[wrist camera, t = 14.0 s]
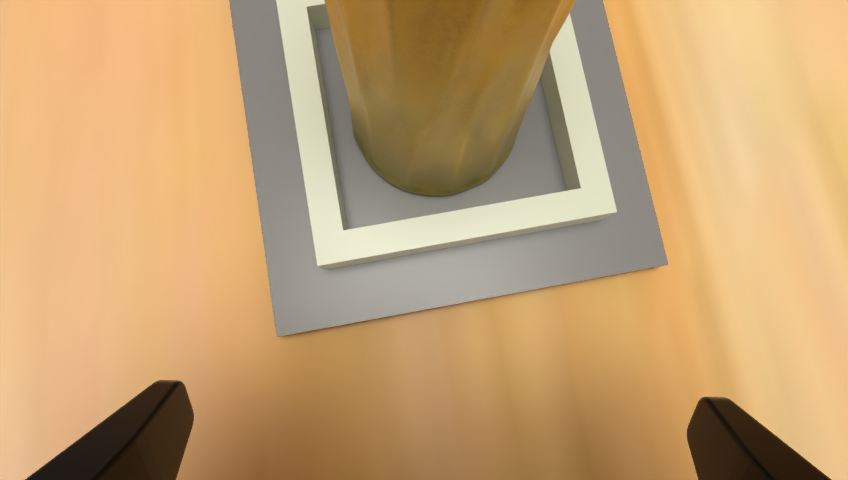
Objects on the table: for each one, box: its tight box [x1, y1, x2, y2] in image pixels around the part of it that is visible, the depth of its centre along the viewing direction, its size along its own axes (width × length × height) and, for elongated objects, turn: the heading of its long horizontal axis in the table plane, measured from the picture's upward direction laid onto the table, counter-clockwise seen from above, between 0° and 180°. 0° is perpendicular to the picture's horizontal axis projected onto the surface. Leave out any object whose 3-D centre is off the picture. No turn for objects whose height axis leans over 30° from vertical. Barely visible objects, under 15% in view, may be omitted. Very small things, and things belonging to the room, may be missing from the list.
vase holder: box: [229, 0, 668, 337], centre depth 19 cm, size 14×14×2 cm
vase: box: [324, 0, 576, 196], centre depth 12 cm, size 6×6×14 cm
